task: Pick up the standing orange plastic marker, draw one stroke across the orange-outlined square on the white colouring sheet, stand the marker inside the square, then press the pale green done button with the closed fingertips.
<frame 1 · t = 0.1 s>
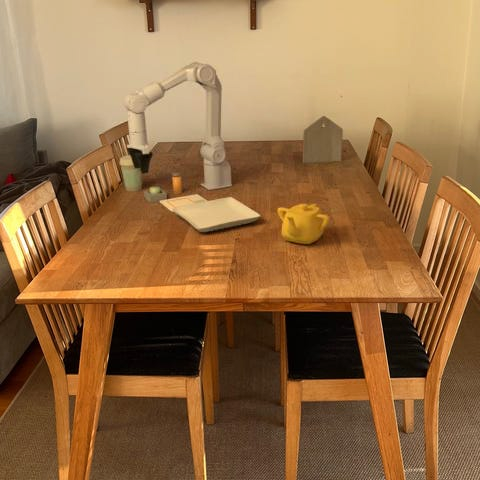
hand: (141, 170, 197), 10 cm above the table, fingers open, 7 cm apart
coffee cup: (134, 189, 211), on the table
marker: (177, 193, 205), on the table
grey pentagonal block: (320, 160, 245), on the table
button housing: (155, 198, 200), on the table
salad plate: (216, 221, 179), on the table
teapot: (301, 240, 163), on the table
done button: (155, 192, 199), point 3 cm above the table, slide at 0.0 cm
sheet: (185, 203, 195), on the table
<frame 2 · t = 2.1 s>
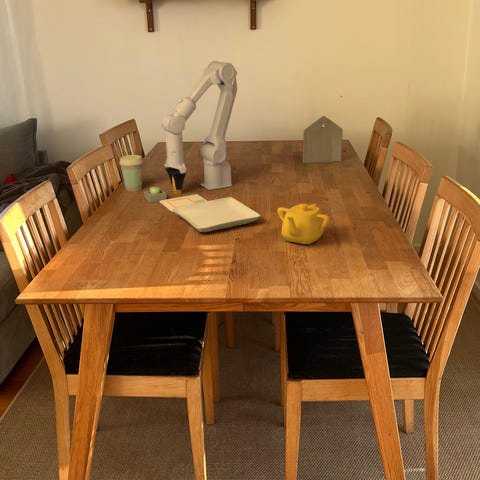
hand: (177, 188, 205), 2 cm above the table, fingers closed on marker, 3 cm apart
marker: (177, 193, 205), on the table, touching gripper
everything else where it was.
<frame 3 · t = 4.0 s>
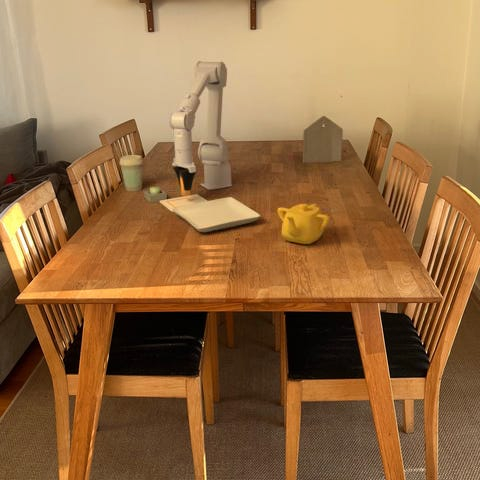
hand: (185, 188, 193), 5 cm above the table, fingers closed on marker, 3 cm apart
marker: (185, 194, 193), point 3 cm above the table, touching gripper
everything else where it was.
when the fingers open (3 cm above the table, at t = 6.0 s): marker stays where it is, resting on sheet.
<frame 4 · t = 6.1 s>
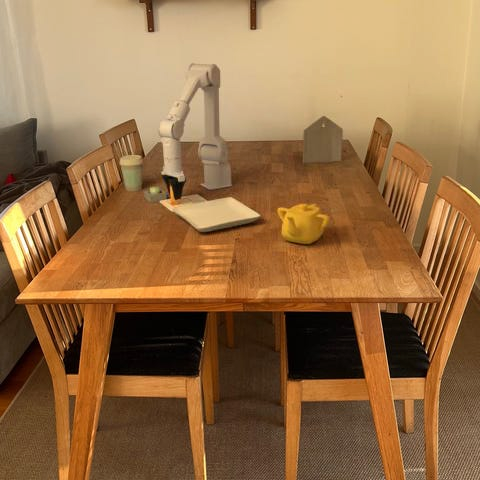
hand: (175, 197, 192), 3 cm above the table, fingers open, 4 cm apart
marker: (175, 203, 193), point 1 cm above the table, touching sheet
everything else where it was.
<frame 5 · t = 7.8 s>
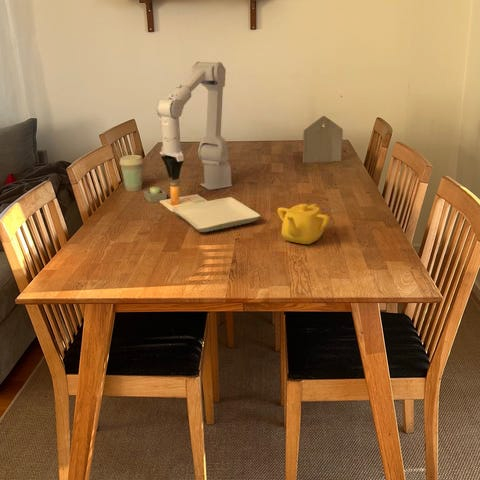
hand: (173, 178, 190), 9 cm above the table, fingers closed
nothing on the table moved.
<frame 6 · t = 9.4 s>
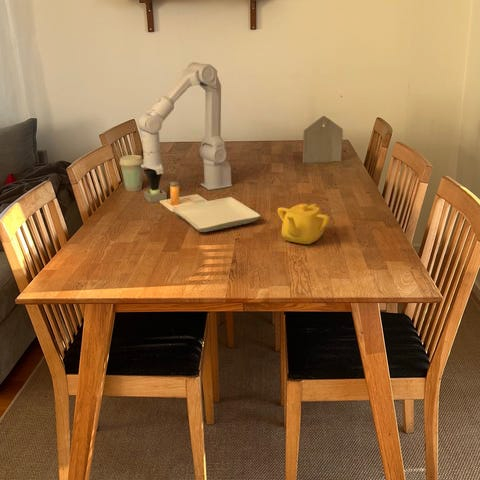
hand: (154, 189, 199), 3 cm above the table, fingers closed, pressing on done button
done button: (155, 193, 199), point 2 cm above the table, slide at 0.6 cm, touching gripper
everything else where it was.
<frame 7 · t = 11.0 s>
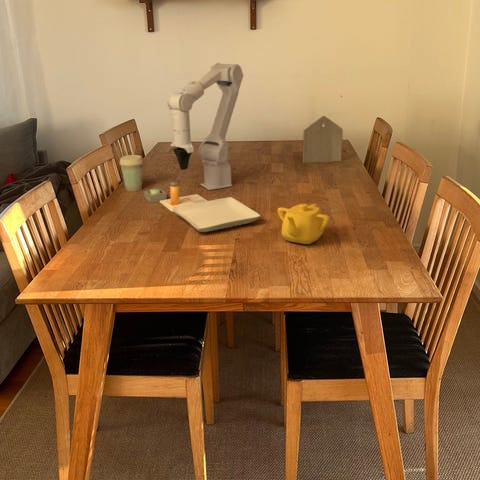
hand: (183, 169, 198), 10 cm above the table, fingers closed
done button: (155, 193, 199), point 2 cm above the table, slide at 0.7 cm
everything else where it was.
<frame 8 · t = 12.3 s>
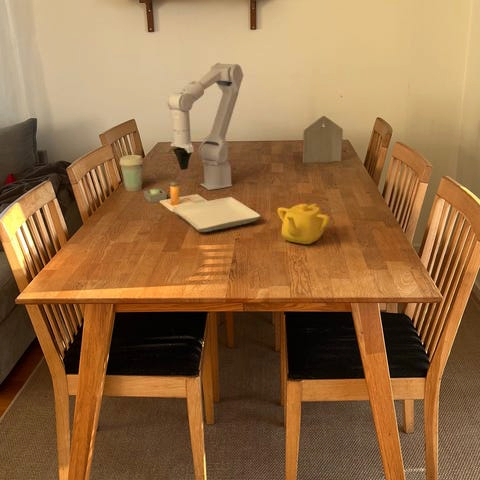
hand: (183, 169, 198), 10 cm above the table, fingers closed
nothing on the table moved.
at the end: marker inside the target area on the sheet (2.1 cm from its centre), point 0.6 cm above the sheet's base; marker tilted 2°; done button slide at 0.7 cm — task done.
